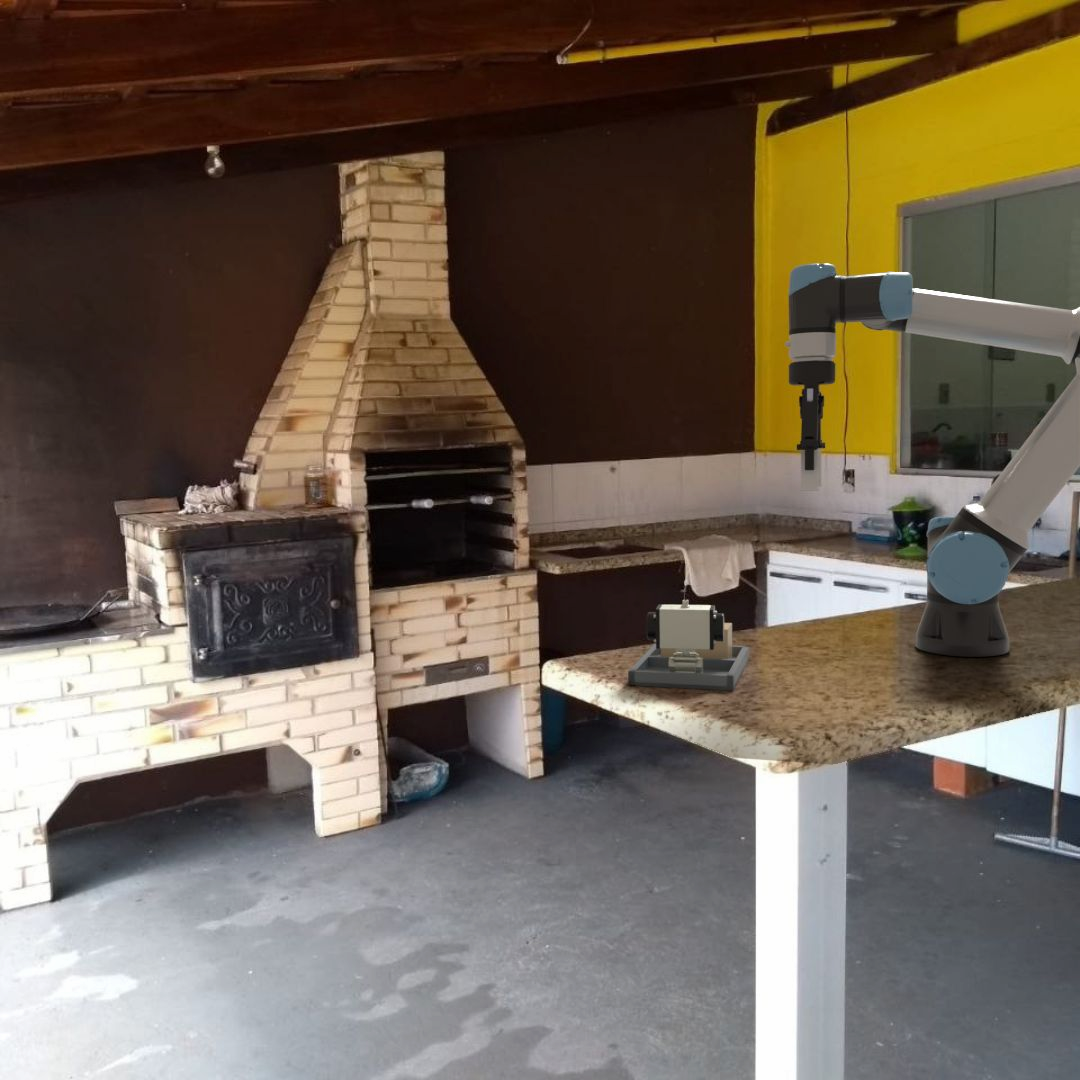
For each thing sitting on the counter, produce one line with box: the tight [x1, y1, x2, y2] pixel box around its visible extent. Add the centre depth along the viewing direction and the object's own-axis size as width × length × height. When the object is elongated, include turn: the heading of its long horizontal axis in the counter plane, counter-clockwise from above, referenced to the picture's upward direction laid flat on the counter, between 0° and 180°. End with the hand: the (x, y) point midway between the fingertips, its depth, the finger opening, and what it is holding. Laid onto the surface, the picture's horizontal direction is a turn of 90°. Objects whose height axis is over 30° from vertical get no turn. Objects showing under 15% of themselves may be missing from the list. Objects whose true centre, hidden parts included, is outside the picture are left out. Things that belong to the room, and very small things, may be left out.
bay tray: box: [627, 622, 750, 692], centre depth 170 cm, size 16×23×7 cm
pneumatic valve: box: [646, 599, 725, 673], centre depth 164 cm, size 6×12×12 cm, turn 78°
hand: (811, 488), depth 176 cm, fingers open, 13 cm apart
